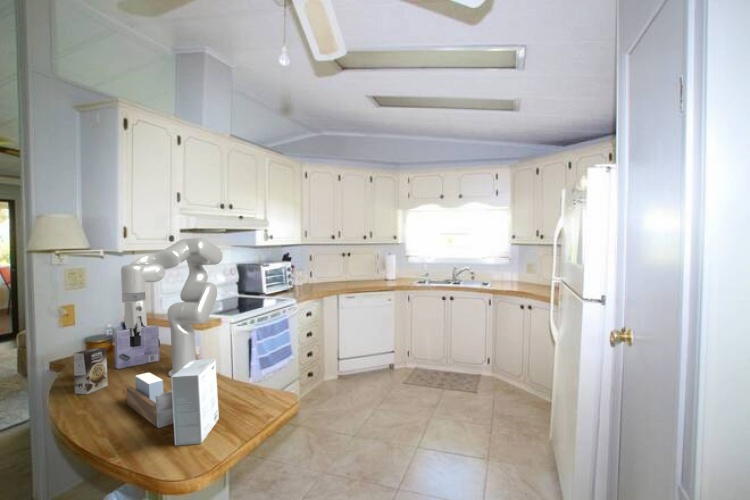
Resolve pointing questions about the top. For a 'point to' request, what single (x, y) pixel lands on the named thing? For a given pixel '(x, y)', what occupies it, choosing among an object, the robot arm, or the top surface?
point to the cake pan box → (137, 348)
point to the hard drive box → (194, 401)
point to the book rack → (152, 407)
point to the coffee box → (90, 370)
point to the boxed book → (149, 385)
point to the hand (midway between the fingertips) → (135, 346)
